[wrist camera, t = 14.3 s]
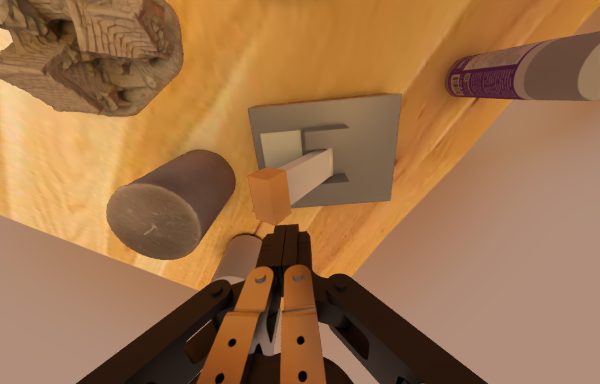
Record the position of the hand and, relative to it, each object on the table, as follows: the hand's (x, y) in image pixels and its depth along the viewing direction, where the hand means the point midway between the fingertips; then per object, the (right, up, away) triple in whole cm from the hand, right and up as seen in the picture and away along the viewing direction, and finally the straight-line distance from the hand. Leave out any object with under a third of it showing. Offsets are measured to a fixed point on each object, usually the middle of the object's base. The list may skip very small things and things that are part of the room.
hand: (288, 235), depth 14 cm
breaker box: (+4, +9, +18) cm, 21 cm away
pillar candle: (-14, +5, +21) cm, 26 cm away
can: (-9, -8, +27) cm, 30 cm away
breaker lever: (+4, +7, +13) cm, 15 cm away
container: (+22, +18, +14) cm, 32 cm away
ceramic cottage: (-22, +20, +14) cm, 33 cm away
